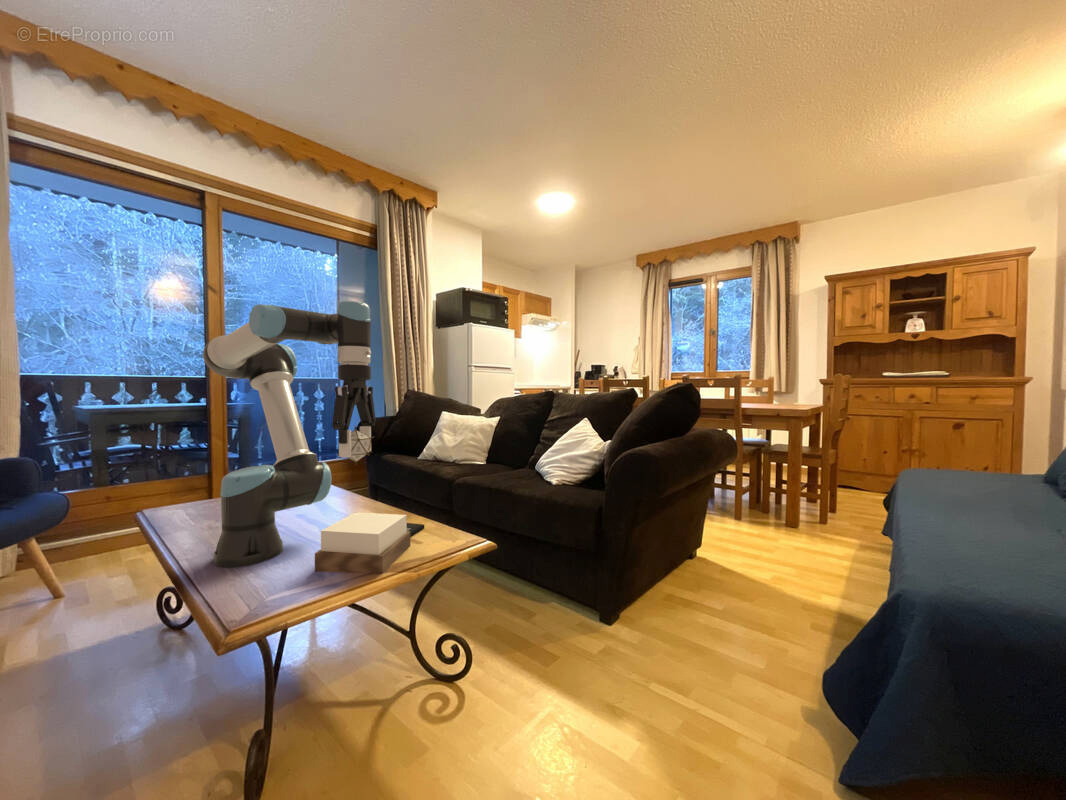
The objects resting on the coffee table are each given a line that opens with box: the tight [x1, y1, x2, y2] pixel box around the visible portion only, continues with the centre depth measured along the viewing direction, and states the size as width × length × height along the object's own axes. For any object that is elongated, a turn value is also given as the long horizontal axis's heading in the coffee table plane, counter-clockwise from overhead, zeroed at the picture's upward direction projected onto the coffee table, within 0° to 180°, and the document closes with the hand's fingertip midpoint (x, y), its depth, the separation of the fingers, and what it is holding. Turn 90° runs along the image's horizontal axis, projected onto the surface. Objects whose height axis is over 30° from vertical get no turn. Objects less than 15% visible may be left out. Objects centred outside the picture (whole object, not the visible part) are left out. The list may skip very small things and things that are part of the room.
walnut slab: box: [314, 531, 411, 574], centre depth 107 cm, size 17×17×5 cm
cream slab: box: [320, 512, 408, 555], centre depth 107 cm, size 15×15×5 cm
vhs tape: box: [406, 522, 425, 538], centre depth 123 cm, size 8×14×2 cm, turn 166°
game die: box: [336, 425, 375, 466], centre depth 104 cm, size 9×8×10 cm
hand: (355, 453), depth 104 cm, fingers closed on game die, 9 cm apart
